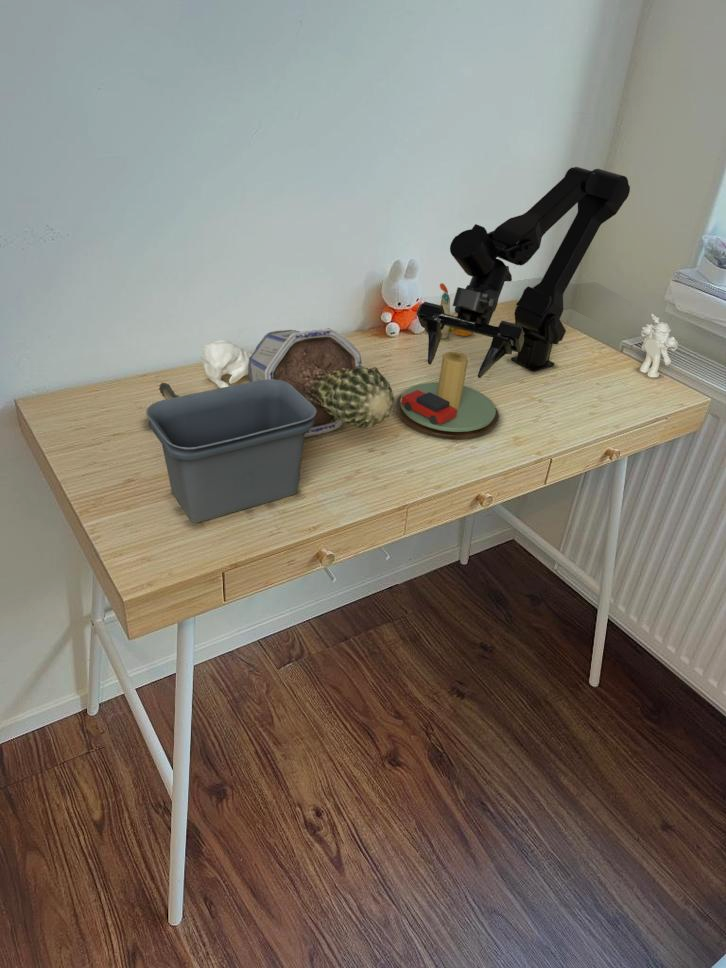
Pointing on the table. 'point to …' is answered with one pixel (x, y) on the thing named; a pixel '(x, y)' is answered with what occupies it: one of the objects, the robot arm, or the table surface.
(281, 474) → the storage bin
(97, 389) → the table surface
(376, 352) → the table surface
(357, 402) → the potted plant
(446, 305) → the rattle
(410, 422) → the display stand
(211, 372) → the white crumpled lump
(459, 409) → the turntable
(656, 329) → the white character figurine
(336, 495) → the table surface
